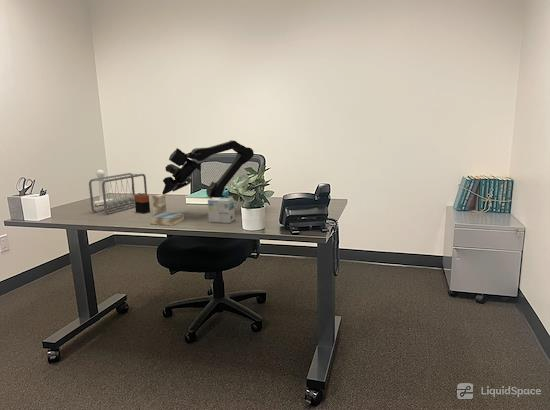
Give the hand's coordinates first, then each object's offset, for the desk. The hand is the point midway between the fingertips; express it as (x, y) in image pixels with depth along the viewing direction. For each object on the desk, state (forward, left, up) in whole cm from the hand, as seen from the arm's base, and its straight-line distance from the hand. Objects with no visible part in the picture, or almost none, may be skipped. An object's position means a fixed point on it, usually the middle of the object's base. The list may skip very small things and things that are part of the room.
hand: (167, 192), depth 203 cm
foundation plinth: (-7, +13, -12) cm, 19 cm away
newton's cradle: (+34, -8, -12) cm, 37 cm away
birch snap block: (+5, 0, -12) cm, 13 cm away
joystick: (+50, -15, -12) cm, 54 cm away
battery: (+17, -3, -12) cm, 21 cm away
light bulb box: (-31, +5, -12) cm, 33 cm away
